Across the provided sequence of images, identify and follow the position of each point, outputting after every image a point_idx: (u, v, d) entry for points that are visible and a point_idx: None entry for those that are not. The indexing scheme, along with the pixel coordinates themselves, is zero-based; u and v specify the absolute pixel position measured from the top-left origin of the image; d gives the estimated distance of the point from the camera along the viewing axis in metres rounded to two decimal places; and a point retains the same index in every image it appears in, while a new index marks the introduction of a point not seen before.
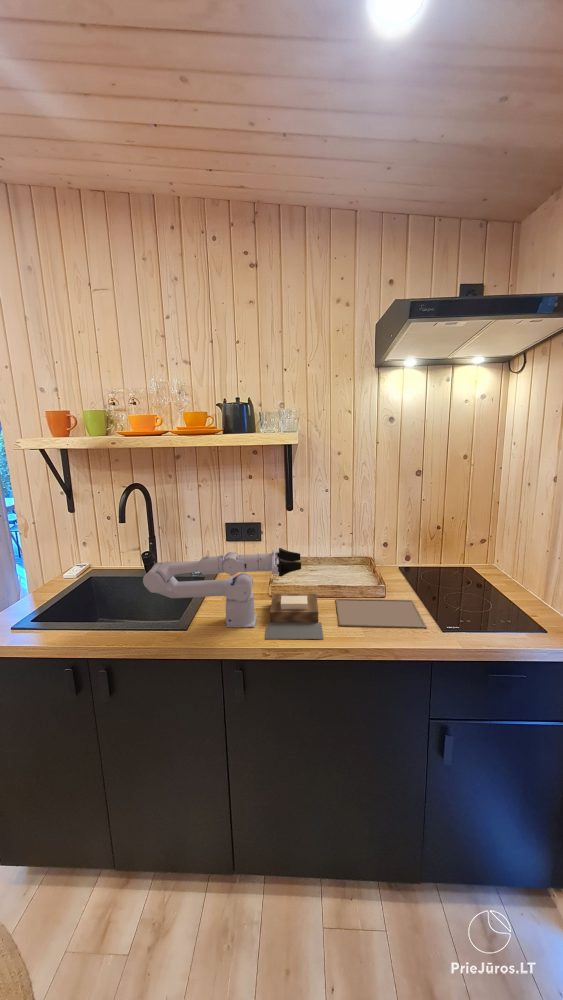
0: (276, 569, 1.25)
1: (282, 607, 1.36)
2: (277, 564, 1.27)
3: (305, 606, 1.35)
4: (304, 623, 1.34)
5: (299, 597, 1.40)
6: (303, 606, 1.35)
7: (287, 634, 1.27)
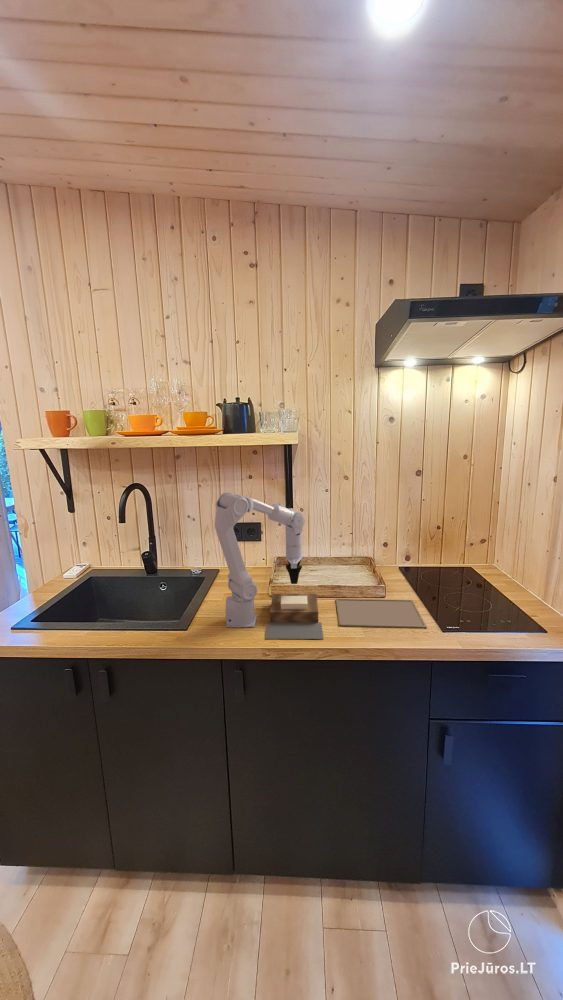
0: (294, 566, 1.38)
1: (282, 607, 1.36)
2: None
3: (305, 606, 1.35)
4: (304, 623, 1.34)
5: (299, 597, 1.40)
6: (303, 606, 1.35)
7: (287, 634, 1.27)
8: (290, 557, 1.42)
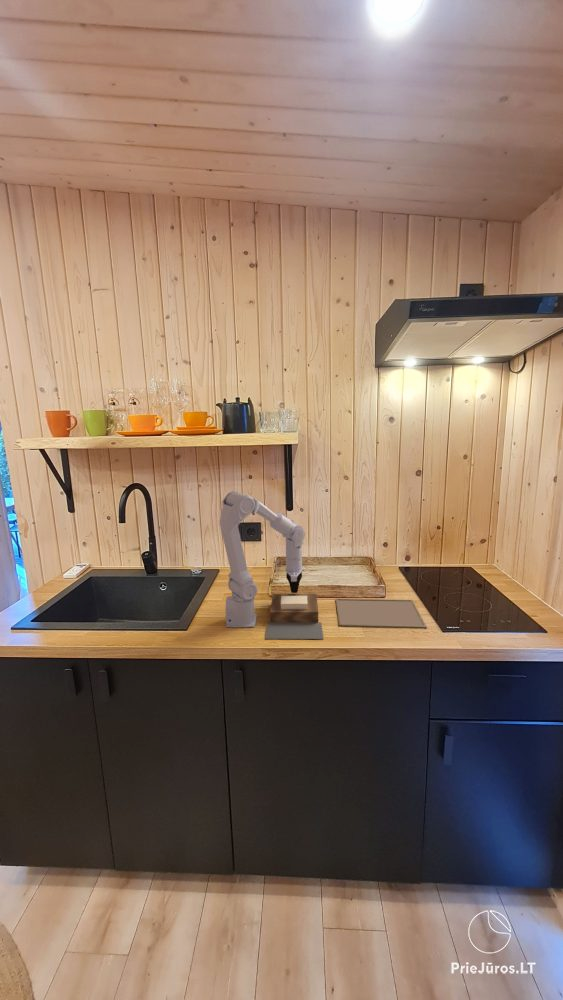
0: (294, 579, 1.39)
1: (282, 607, 1.36)
2: None
3: (305, 606, 1.35)
4: (304, 623, 1.34)
5: (299, 597, 1.40)
6: (303, 606, 1.35)
7: (287, 634, 1.27)
8: (290, 570, 1.43)
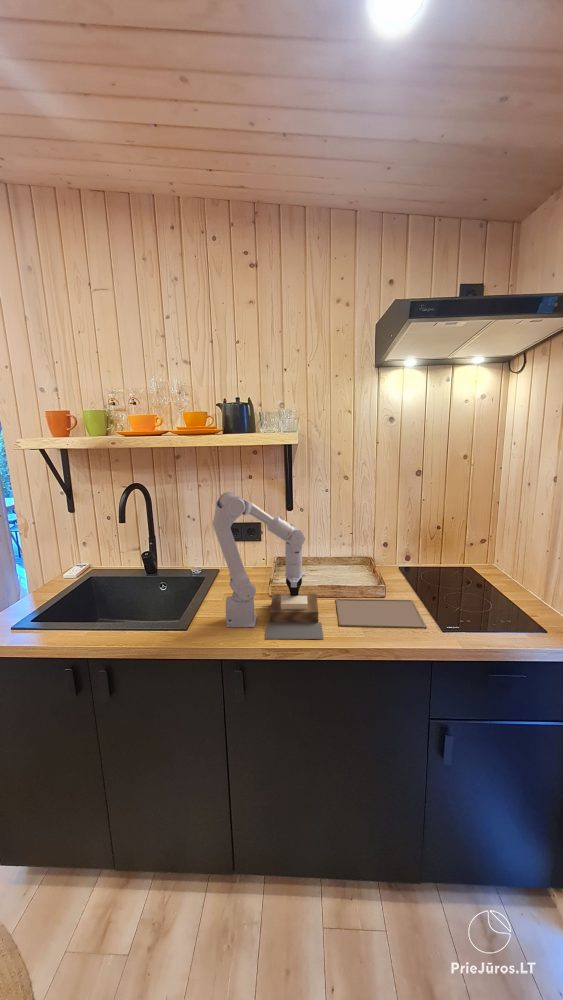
0: (294, 585, 1.34)
1: (282, 607, 1.36)
2: None
3: (305, 606, 1.35)
4: (304, 623, 1.34)
5: (299, 597, 1.40)
6: (303, 606, 1.35)
7: (287, 634, 1.27)
8: (290, 575, 1.38)
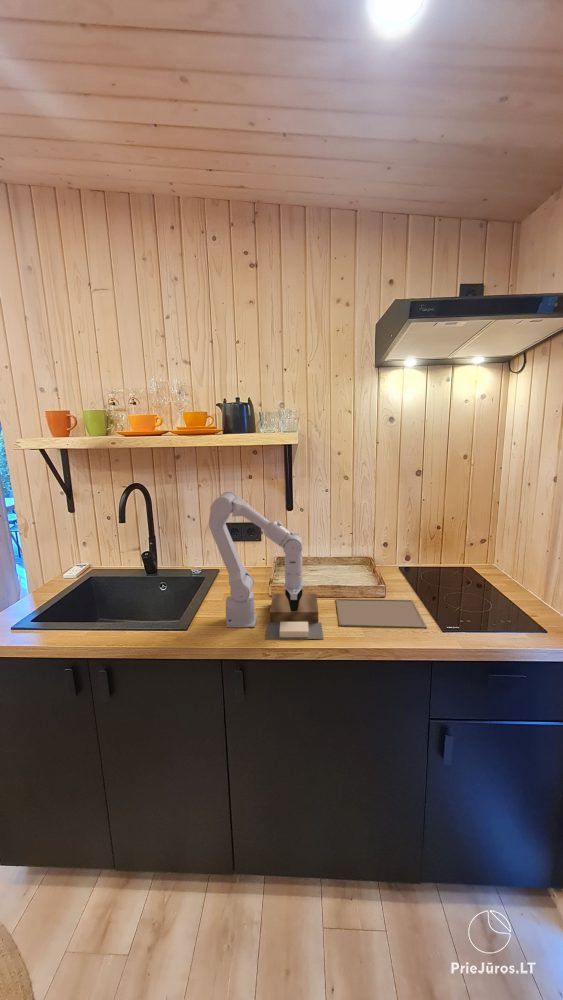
0: (294, 598, 1.25)
1: None
2: None
3: None
4: None
5: None
6: None
7: None
8: (290, 586, 1.29)
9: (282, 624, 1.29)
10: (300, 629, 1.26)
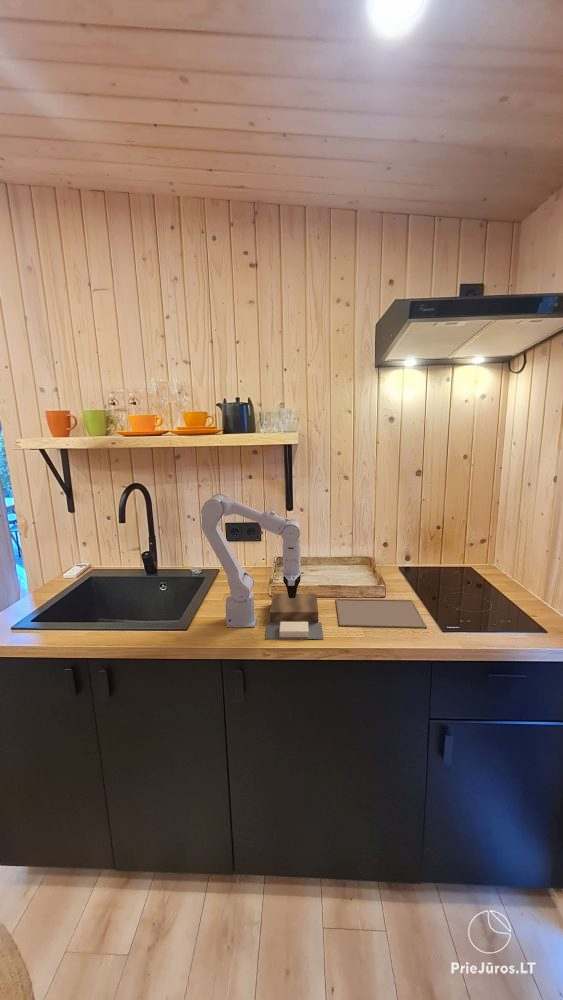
0: (292, 583, 1.24)
1: None
2: None
3: None
4: None
5: None
6: None
7: None
8: (287, 573, 1.28)
9: (282, 624, 1.29)
10: (300, 629, 1.26)
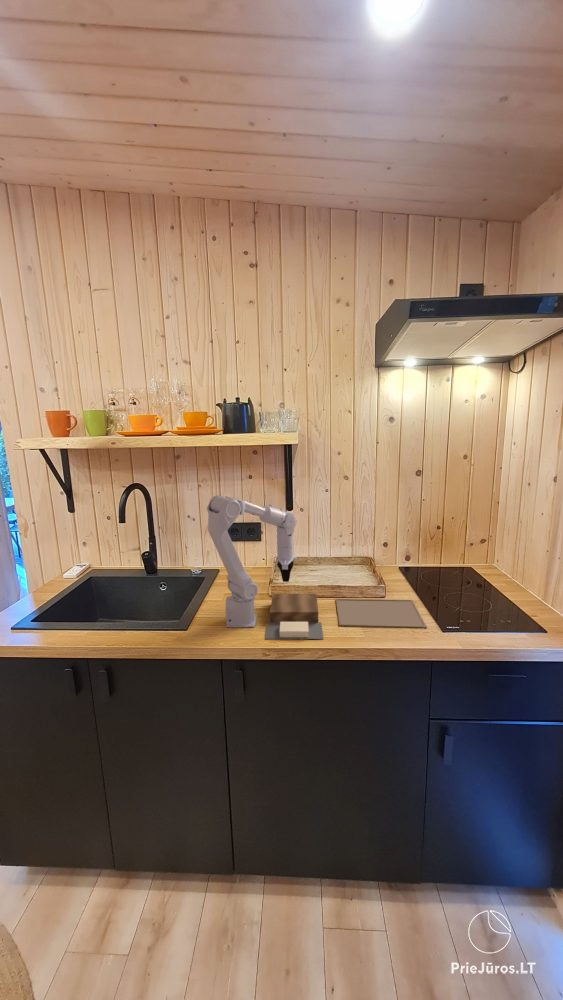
0: (285, 567, 1.37)
1: None
2: None
3: None
4: None
5: None
6: None
7: None
8: (281, 558, 1.41)
9: (282, 624, 1.29)
10: (300, 629, 1.26)
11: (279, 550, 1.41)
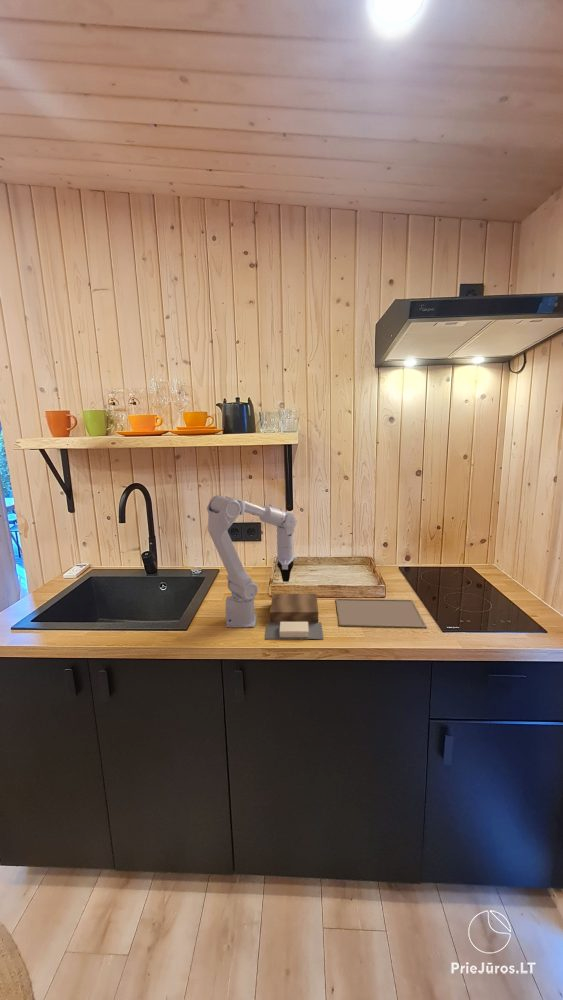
0: (285, 567, 1.37)
1: None
2: None
3: None
4: None
5: None
6: None
7: None
8: (281, 558, 1.41)
9: (282, 624, 1.29)
10: (300, 629, 1.26)
11: (279, 550, 1.41)
